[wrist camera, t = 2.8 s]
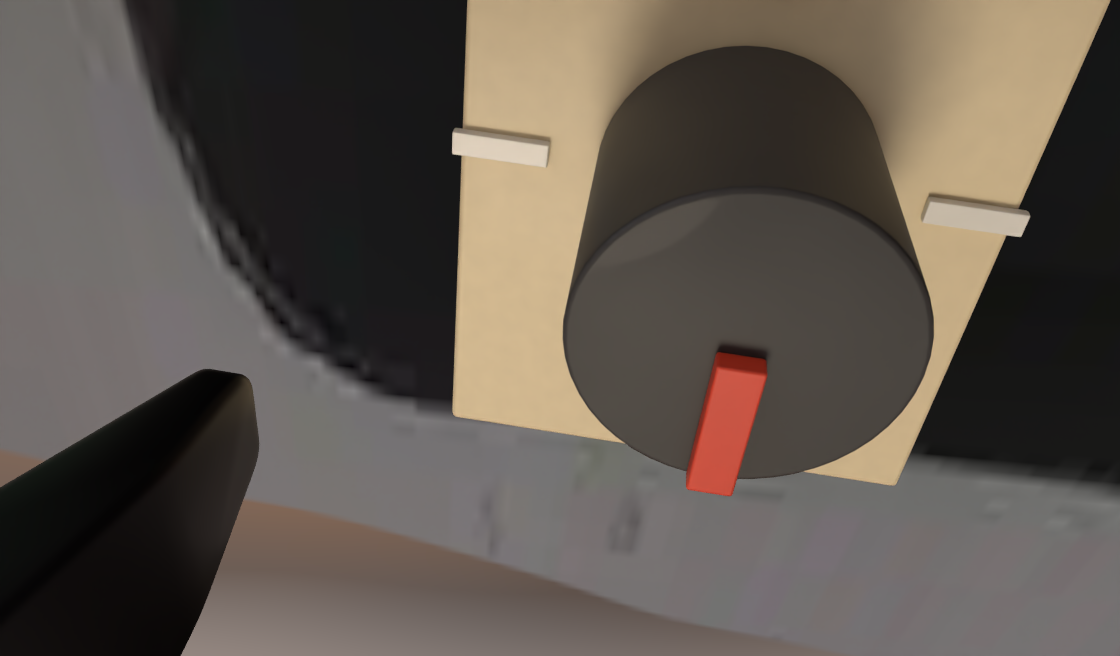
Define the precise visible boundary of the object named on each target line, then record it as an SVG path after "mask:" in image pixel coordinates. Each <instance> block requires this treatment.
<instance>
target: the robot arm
mask: <svg viewBox="0 0 1120 656" xmlns="http://www.w3.org/2000/svg"><path fill="white" fill-rule="evenodd" d="M258 452H259V436H258V428H257V420H256V412H255V404H254V396H253V389H252V385H251V383H250V381H249V379H248V378H247V377H246V376H244V375H242V374H237V373H231V372H225V371H219V370H212V369H203V370H200V371H197V372H195V373H193V374H192V375H190V376H188V377H187V378H185V379H183V380H181V381H180V382H178V383H176V384H175V385H173V386H171V387H170V388H168V389H166V390H165V391H163V392H161V393H159V394H158V395H156V396H154V397H153V398H151V399H149V400H148V401H146V402H144V403H143V404H141V405H139V406H137V407H136V408H134V409H132V410H131V411H129V412H127V413H126V414H124V415H122V416H120V417H119V418H117V419H115V420H114V421H112V422H110V423H109V424H107V425H105V426H104V427H102V428H100V429H98V430H97V431H95V432H93V433H92V434H90V435H88V436H87V437H85V438H83V439H82V440H80V441H78V442H76V443H75V444H73V445H71V446H70V447H68V448H66V449H65V450H63V451H61V452H60V453H58V454H56V455H54V456H53V457H51V458H49V459H48V460H46V461H44V462H43V463H41V464H39V465H37V466H36V467H34V468H32V469H31V470H29V471H28V472H26V473H24V474H22V475H21V476H19V477H17V478H16V479H14V480H12V481H10V482H9V483H7V484H5V485H4V486H2V487H0V656H181V654H182V652H183V650H184V648H185V646H186V644H187V642H188V640H189V638H190V636H191V634H192V631H193V629H194V627H195V625H196V623H197V621H198V619H199V616H200V614H201V612H202V609H203V607H204V604H205V601H206V599H207V596H208V594H209V591H210V589H211V586H212V583H213V581H214V578H215V575H216V572H217V570H218V567H219V564H220V562H221V559H222V556H223V553H224V551H225V548H226V545H227V543H228V540H229V537H230V534H231V532H232V529H233V526H234V523H235V520H236V518H237V515H238V512H239V510H240V507H241V504H242V502H243V499H244V496H245V493H246V491H247V488H248V485H249V482H250V480H251V477H252V474H253V472H254V469H255V466H256V462H257V458H258Z"/></svg>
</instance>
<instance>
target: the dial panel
mask: <svg viewBox="0 0 1120 656" xmlns="http://www.w3.org/2000/svg"><path fill="white" fill-rule="evenodd" d="M1109 3H1110V0H467V25H466V53H465V80H464V108H463V129H461V128H455V129H454V131H453V135H452V154H455V155H462V163H461V190H460V217H459V245H458V272H457V300H456V327H455V354H454V382H453V409H452V411H453V414H454V416H456V417H462V418H469V419H475V420H481V421H487V422H494V423H500V424H506V425H513V426H519V427H525V428H532V429H538V430H544V431H551V432H557V433H563V434H569V435H576V436H582V437H588V438H595V439H601V440H607V441H614V442H620V443H624V442H622V441H621V440H620V439H618V438H617V437H615V436H614V435H613V434H612V433H611V432H610V431H609V430H608V429H607V428H605V427H604V426H603V425H602V424H601V423H600V422H599V421H598V419H597V418H596V417H595V416H594V415H593V414H592V412H591V411H590V410H589V409H588V407H587V406H586V404H585V403H584V401H583V400H582V398H581V396H580V395H579V393H578V391H577V389H576V387H575V385H574V382H573V380H572V378H571V376H570V373H569V370H568V366H567V363H566V359H565V355H564V347H563V339H562V338H563V318H564V314H565V309H566V304H567V299H568V294H569V290H570V285H571V280H572V275H573V271H574V266H575V261H576V257H577V252H578V247H579V242H580V238H581V233H582V228H583V223H584V219H585V214H586V209H587V205H588V200H589V195H590V190H591V186H592V181H593V176H594V172H595V167H596V162H597V157H598V153H599V148H600V145H601V142H602V139H603V136H604V134H605V131H606V129H607V127H608V125H609V123H610V121H611V119H612V118H613V116H614V114H615V113H616V111H617V110H618V109H619V107H620V106H621V104H622V103H623V102H624V100H625V99H626V98H627V97H628V96H629V95H630V94H631V93H632V92H633V91H634V90H635V89H636V88H637V87H638V86H639V85H640V84H641V83H643V82H644V81H645V80H646V79H648V78H649V77H650V76H651V75H653V74H654V73H656V72H657V71H659V70H661V69H662V68H664V67H666V66H667V65H669V64H671V63H673V62H675V61H678V60H680V59H682V58H684V57H686V56H689V55H693V54H696V53H699V52H702V51H705V50H711V49H716V48H722V47H730V46H759V47H769V48H774V49H778V50H783V51H788V52H790V53H793V54H796V55H799V56H802V57H805V58H807V59H809V60H811V61H813V62H815V63H817V64H819V65H821V66H823V67H824V68H825V69H827V70H828V71H830V72H831V73H833V74H834V75H835V76H837V77H838V78H839V79H840V80H841V81H843V82H844V83H845V84H846V85H847V86H848V87H849V88H850V89H851V90H852V91H853V92H854V94H855V95H856V96H857V98H858V99H859V100H860V101H861V103H862V104H863V105H864V107H865V109H866V111H867V113H868V114H869V116H870V118H871V120H872V122H873V125H874V128H875V130H876V133H877V136H878V139H879V142H880V145H881V148H882V151H883V154H884V157H885V160H886V163H887V166H888V169H889V173H890V176H891V179H892V182H893V185H894V188H895V191H896V194H897V197H898V200H899V203H900V206H901V209H902V212H903V216H904V219H905V222H906V225H907V228H908V231H909V234H910V237H911V240H912V243H913V246H914V249H915V252H916V255H917V259H918V262H919V265H920V268H921V271H922V274H923V277H924V280H925V283H926V286H927V289H928V292H929V295H930V299H931V305H932V310H933V315H934V340H933V346H932V353H931V358H930V361H929V363H928V366H927V369H926V372H925V375H924V378H923V380H922V382H921V384H920V385H919V387H918V389H917V391H916V393H915V395H914V397H913V398H912V399H911V401H910V402H909V403H908V405H907V406H906V408H905V409H904V410H903V412H902V413H901V414H900V415H899V416H898V417H897V418H896V419H895V420H894V421H893V422H892V423H891V424H890V425H889V427H887V428H886V429H885V430H884V431H882V432H881V433H880V434H879V435H878V436H876V437H875V438H874V439H873V440H871V441H870V442H868V443H866V444H865V445H863V446H862V447H860V448H859V449H857V450H856V451H854V452H852V453H850V454H848V455H846V456H844V457H842V458H840V459H838V460H836V461H833V462H830V463H828V464H825V465H822V466H820V467H817V468H814V469H810V470H807V471H803V472H809V473H816V474H822V475H828V476H834V477H841V478H847V479H853V480H860V481H866V482H872V483H879V484H885V485H891V486H892V485H895V484H897V481H898V479H899V477H900V474H901V472H902V470H903V468H904V465H905V463H906V461H907V459H908V456H909V454H910V452H911V450H912V447H913V445H914V443H915V441H916V438H917V436H918V434H919V432H920V429H921V427H922V425H923V423H924V420H925V418H926V416H927V414H928V411H929V409H930V407H931V404H932V402H933V400H934V398H935V395H936V393H937V391H938V389H939V386H940V384H941V382H942V380H943V377H944V375H945V373H946V371H947V368H948V366H949V364H950V362H951V359H952V357H953V355H954V353H955V350H956V348H957V346H958V344H959V341H960V339H961V337H962V334H963V332H964V330H965V328H966V325H967V323H968V321H969V319H970V316H971V314H972V312H973V310H974V307H975V305H976V303H977V301H978V298H979V296H980V294H981V292H982V289H983V287H984V285H985V283H986V280H987V278H988V276H989V274H990V271H991V269H992V267H993V264H994V262H995V260H996V258H997V255H998V253H999V251H1000V249H1001V246H1002V244H1003V242H1004V240H1005V237H1006V235H1009V236H1016V237H1021V236H1022V234H1023V231H1024V229H1025V227H1026V225H1027V223H1028V220H1029V218H1030V214H1029V212H1028V211H1027V210H1020V209H1018V208H1019V206H1020V204H1021V201H1022V199H1023V197H1024V194H1025V192H1026V190H1027V188H1028V185H1029V183H1030V181H1031V179H1032V176H1033V174H1034V172H1035V170H1036V167H1037V165H1038V163H1039V161H1040V158H1041V156H1042V154H1043V152H1044V149H1045V147H1046V145H1047V143H1048V140H1049V138H1050V136H1051V134H1052V131H1053V129H1054V127H1055V124H1056V122H1057V120H1058V118H1059V115H1060V113H1061V111H1062V109H1063V106H1064V104H1065V102H1066V100H1067V97H1068V95H1069V93H1070V91H1071V88H1072V86H1073V84H1074V82H1075V79H1076V77H1077V75H1078V73H1079V70H1080V68H1081V66H1082V64H1083V61H1084V59H1085V57H1086V54H1087V52H1088V50H1089V48H1090V45H1091V43H1092V41H1093V39H1094V36H1095V34H1096V32H1097V30H1098V27H1099V25H1100V23H1101V21H1102V18H1103V16H1104V14H1105V12H1106V9H1107V7H1108V5H1109Z"/></svg>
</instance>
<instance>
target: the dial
mask: <svg viewBox="0 0 1120 656" xmlns="http://www.w3.org/2000/svg"><path fill="white" fill-rule="evenodd" d="M562 339H563V347H564V355H565V359H566V363H567V366H568V370H569V373H570V376H571V378H572V380H573V382H574V385H575V387H576V389H577V391H578V393H579V395H580V396H581V398H582V400H583V401H584V403H585V404H586V406H587V407H588V409H589V410H590V411H591V412H592V414H593V415H594V416H595V417H596V418H597V419H598V421H599V422H600V423H601V424H602V425H603V426H604V427H605V428H607V429H608V430H609V431H610V432H611V433H612V434H613V435H614V436H615V437H617V438H618V439H620V440H621V441H622V442H624V443H625V444H627V445H628V446H630V447H631V448H633V449H634V450H636V451H638V452H640V453H642V454H643V455H645V456H647V457H649V458H651V459H654V460H656V461H658V462H661V463H663V464H665V465H668V466H671V467H674V468H677V469H680V470H684V471H687V473H686V487H687V489H688V490H694V491H700V492H706V493H712V494H719V495H725V496H731V495H732V494H733V491H734V487H735V484H736V481H737V479H757V478H770V477H778V476H784V475H790V474H795V473H799V472H803V471H807V470H810V469H814V468H817V467H820V466H822V465H825V464H828V463H830V462H833V461H836V460H838V459H840V458H842V457H844V456H846V455H848V454H850V453H852V452H854V451H856V450H857V449H859V448H860V447H862V446H863V445H865V444H866V443H868V442H870V441H871V440H873V439H874V438H875V437H876V436H878V435H879V434H880V433H881V432H882V431H884V430H885V429H886V428H887V427H889V425H890V424H891V423H892V422H893V421H894V420H895V419H896V418H897V417H898V416H899V415H900V414H901V413H902V412H903V410H904V409H905V408H906V406H907V405H908V403H909V402H910V401H911V399H912V398H913V397H914V395H915V393H916V391H917V389H918V387H919V385H920V384H921V382H922V380H923V378H924V375H925V372H926V369H927V366H928V363H929V361H930V358H931V353H932V346H933V340H934V315H933V310H932V305H931V299H930V295H929V292H928V289H927V286H926V283H925V280H924V277H923V274H922V271H921V268H920V265H919V262H918V259H917V255H916V252H915V249H914V246H913V243H912V240H911V237H910V234H909V231H908V228H907V225H906V222H905V219H904V216H903V212H902V209H901V206H900V203H899V200H898V197H897V194H896V191H895V188H894V185H893V182H892V179H891V176H890V173H889V169H888V166H887V163H886V160H885V157H884V154H883V151H882V148H881V145H880V142H879V139H878V136H877V133H876V130H875V128H874V125H873V122H872V120H871V118H870V116H869V114H868V113H867V111H866V109H865V107H864V105H863V104H862V103H861V101H860V100H859V99H858V98H857V96H856V95H855V94H854V92H853V91H852V90H851V89H850V88H849V87H848V86H847V85H846V84H845V83H844V82H843V81H841V80H840V79H839V78H838V77H837V76H835V75H834V74H833V73H831V72H830V71H828V70H827V69H825V68H824V67H823V66H821V65H819V64H817V63H815V62H813V61H811V60H809V59H807V58H805V57H802V56H799V55H796V54H793V53H790V52H788V51H783V50H778V49H774V48H769V47H759V46H730V47H722V48H716V49H711V50H705V51H702V52H699V53H696V54H693V55H689V56H686V57H684V58H682V59H680V60H678V61H675V62H673V63H671V64H669V65H667V66H666V67H664V68H662V69H661V70H659V71H657V72H656V73H654V74H653V75H651V76H650V77H649V78H648V79H646V80H645V81H644V82H643V83H641V84H640V85H639V86H638V87H637V88H636V89H635V90H634V91H633V92H632V93H631V94H630V95H629V96H628V97H627V98H626V99H625V100H624V102H623V103H622V104H621V106H620V107H619V109H618V110H617V111H616V113H615V114H614V116H613V118H612V119H611V121H610V123H609V125H608V127H607V129H606V131H605V134H604V136H603V139H602V142H601V145H600V148H599V153H598V157H597V162H596V167H595V172H594V176H593V181H592V186H591V190H590V195H589V200H588V205H587V209H586V214H585V219H584V223H583V228H582V233H581V238H580V242H579V247H578V252H577V257H576V261H575V266H574V271H573V275H572V280H571V285H570V290H569V294H568V299H567V304H566V309H565V314H564V318H563V338H562Z"/></svg>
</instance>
